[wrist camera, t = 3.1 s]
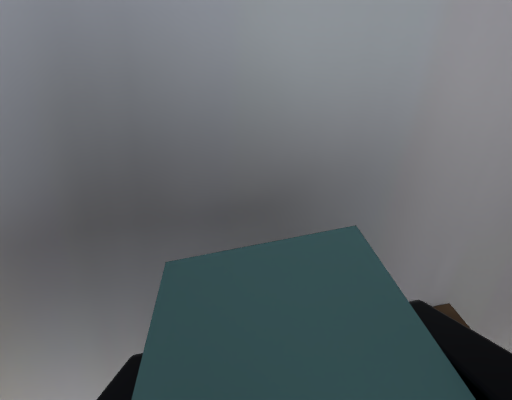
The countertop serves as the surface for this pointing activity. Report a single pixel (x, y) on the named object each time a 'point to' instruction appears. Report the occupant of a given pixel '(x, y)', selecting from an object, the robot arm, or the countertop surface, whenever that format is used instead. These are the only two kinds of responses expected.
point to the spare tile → (290, 328)
